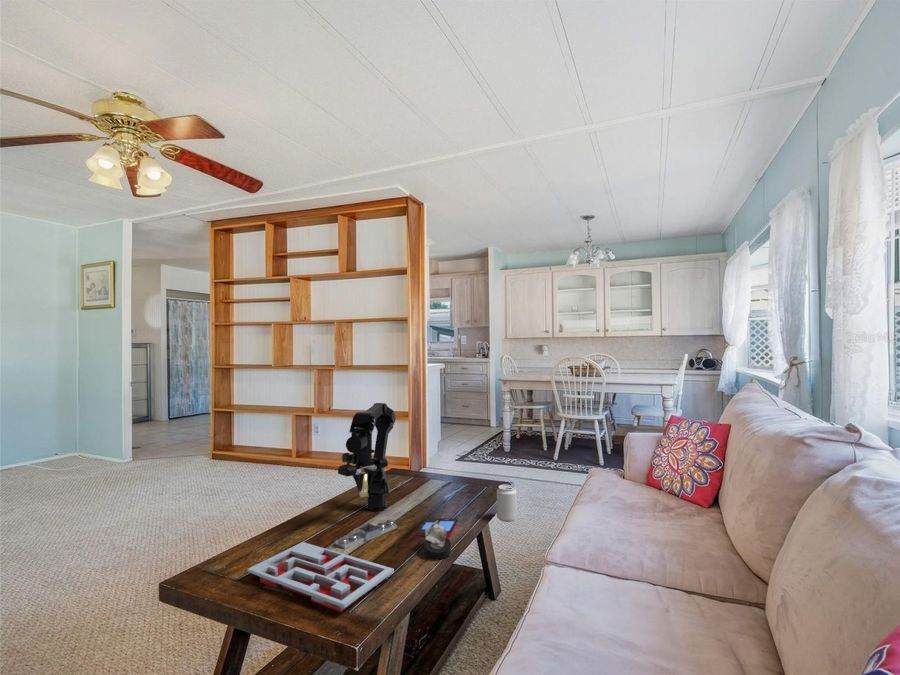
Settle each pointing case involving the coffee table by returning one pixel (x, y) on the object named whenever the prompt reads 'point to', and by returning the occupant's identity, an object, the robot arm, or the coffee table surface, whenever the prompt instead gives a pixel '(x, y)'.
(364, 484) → the link pin
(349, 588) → the maze game
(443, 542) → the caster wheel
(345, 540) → the studded bracket plate
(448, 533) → the game console
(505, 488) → the can
